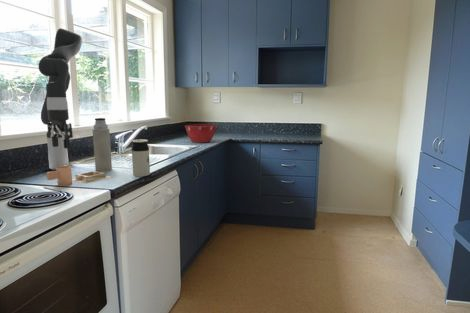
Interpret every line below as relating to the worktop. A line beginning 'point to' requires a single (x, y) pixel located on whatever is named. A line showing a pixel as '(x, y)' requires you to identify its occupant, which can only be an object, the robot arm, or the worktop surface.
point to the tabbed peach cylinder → (61, 175)
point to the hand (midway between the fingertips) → (61, 147)
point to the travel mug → (140, 158)
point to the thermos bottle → (102, 145)
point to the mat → (51, 189)
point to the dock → (90, 177)
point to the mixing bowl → (200, 132)
